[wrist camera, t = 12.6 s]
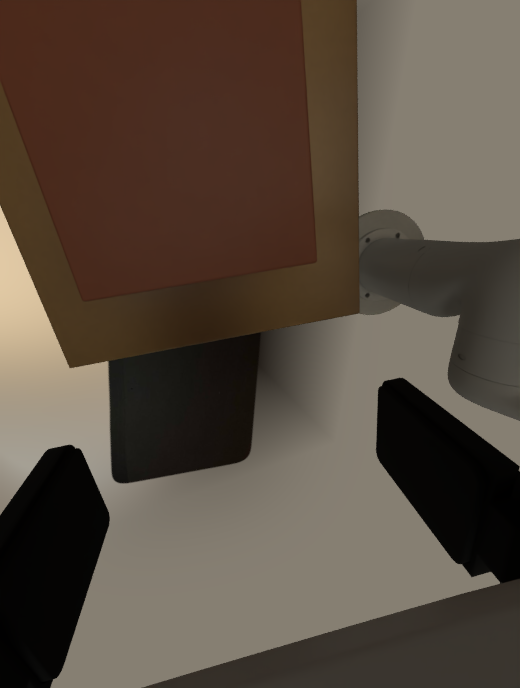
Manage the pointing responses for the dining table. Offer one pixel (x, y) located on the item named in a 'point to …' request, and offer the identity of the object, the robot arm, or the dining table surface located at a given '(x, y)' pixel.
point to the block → (164, 135)
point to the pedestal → (228, 293)
